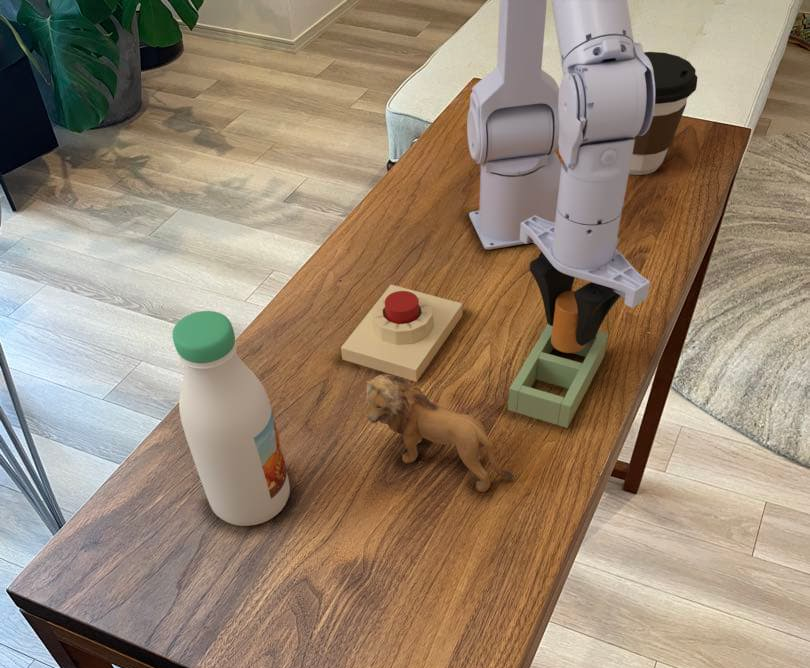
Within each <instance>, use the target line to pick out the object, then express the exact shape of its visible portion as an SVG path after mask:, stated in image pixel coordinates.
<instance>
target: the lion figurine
mask: <svg viewBox="0 0 810 668" xmlns="http://www.w3.org/2000/svg"><path fill="white" fill-rule="evenodd" d="M365 396H366V397H365V402H366V404H367V406H366V408H365V409H364V411H363V415H364V417H365V418H367V419H368V421H369V422H370V423H371V424H377V423H378V422H379V423H380V424H382V425H383V424H384V425H387V426H388V428H389V429H390V430H391V431H392V432H395V433H397V434H400V435H401V436H402V439H403V443H404V446H405V448H406V449H407V451H406V452H404V453H402V455H401V459H402V461H403V462H404V464H411V463H413V462H415V461H416V459H417V457H418V456H419V453H418V447H417V445H418V444H420V443H421V442H422V441H423V439H425V440H427V441H429V442H431V443H435V444H438V445H443V446H449V445H454V446H455V447H456V451H457V454H458V456H459V458H460V459H461V461H462V463H463V464H464V466H465V467H466V468H468V470H470V471H471V472H472V473H473V474H474V475H475V476H476V477H477V478H478V479H479V480H477V481H476V482H475V488H476V490H477V492H481V493H484V492H487V491H488V490H489V488H490V486H491V479H490V473H489V472H488V471H487V469H485V468H484V467H483V465H482V464H481V461H480V460H481V459H483V457H484V455H483V452H482V448H483V447H484V449H485V452H486V456H487V458H488V461H489V463H490V465H491V468H492V469H493V470H494V472H495V473H496V474H497V475H498V476H500V477H501V478H503V479H504V480H512V479H514V477H515V476H514V473H512V472H509V471H506V470H503V469H501V468H500V467H499V466H498V463H497V460H496V458H495V454H494V450H493V447H492V444H491V442H490V440H489V438H488V436H487V430H486V428H485V426H484V424H483V423H481V421H480V420H478V419H477V418H476V417H475V416H473V415H470V414H466V413H461V412H456V411H453V410H450V409H447V408H446V407H443V406H440V405H439V404H436V403H434V402H432V401H430V400H429V399H428V397H427V396H426V395H425V394H424V393H423V392H422V390H421V389H420V388H419V387H418V386H415V384H413V383H410V381H408V380H406V379H404V378H402V377H399V376H395V375H392V374H388V373H386V374H379V375H377V376H375V377H374V378H372V379H370V380H367V381H366V395H365Z"/></svg>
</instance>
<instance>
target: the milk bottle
mask: <svg viewBox="0 0 810 668" xmlns="http://www.w3.org/2000/svg"><path fill="white" fill-rule="evenodd" d="M172 341H173V345H174V348H175V350H176V352H177V356H178V360H179V361H180V362H181V363H182V364H183V365H184V366H183V379H182V382H181V383H182V384H181V387H180V390H179V391H180V392H179V401H178V409H179V416H180V422H181V425H182V429H183V432H184V435H185V439H186V441H187V444H188V447H189V450H190V453H191V457H192V459H193V462H194V465H195V468H196V471H197V474H198V476H199V479H200V482H201V484H202V487H203V491H204V493H205V496H206V498H207V501H208V503H209V506H210V509H211V510H212V511H213V513H214V514H215V515H216V516H217V517H218V518H219V519H221V520H223V521H224V522H225V523H228V524H231V525H233V526H239V527H250V526H256V525H260V524H263V523H266V522H268V521H270V520H271V519H273V518H275V517H276V516H277V515H278V514H279V513H280V512H282V511H283V509H284V507H285V506H286V504H287V502H288V501H289V497H290V495H291V494H290V493H291V484H290V479H289V474H288V471H287V466H286V461H285V457H284V452H283V449H282V445H281V440H280V436H279V432H278V427H277V425H276V420H275V417H274V412H273V410H272V404H271V401H270V399H269V396H268V394H267V391H266V389H265V387H264V385H263V384H262V382H261V381H260V379H259V378H258V377H257V375H256V374H255V373H254V372H253V371H252V370H251V368H249V367H248V366H247V364H245V363H244V361H243V360H242V359H241V357H240V356H239V355H238V353H237V349H238V343H237V340H236V335H235V331H234V327H233V324H232V322H231V320H230V319H229V318H228V317H227V316H226V315H225V314H223V313H221V312H218V311H212V310H201V311H195V312H193V313H190V314H188V315H186V316H184V317H182V318H181V319H180V320H178V321H177V322H176V324H175V325H174V326H173V328H172Z"/></svg>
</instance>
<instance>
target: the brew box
mask: <svg viewBox="0 0 810 668" xmlns="http://www.w3.org/2000/svg"><path fill="white" fill-rule="evenodd" d="M397 291H408V292H411V293H413V294H415V295H416V296H417V297H418V300H419V316H418V318H417V319H416V320H415V321H413V322H411V323H408V324H396V323H392V322H389V321H388V320H387V318H386V313H385V299H386V297H387V296H388V295H390V294H391V293H394V292H397ZM463 306H464V305H463V303H462V302H459V301H455V300H451V299H447V298H444V297H441V296H437V295H432V294H429V293H426V292H420V291H418V290H413V289H410V288H406V287H402V286H398V285H394V284H390V285H388V288H386V290H385V291H384V292H383V294H381V296H380V297H379V299H378V300H377V301H376V302H375V304H374V305H373V306H372V307H371V308H370V310H369V311H368V312H367V314H366V315H365V316H364V318H363V319H362V320H361V321H360V322H359V324H358V325H357V326H356V328H355V329H354V330H353V332H352V333H351V334H350V335H349V336H348V338H347V339H346V340H345V341H344V343H343V344H342V345H341V347H340V351H341V352H340V353H341V359H342V360H343V361H346V362H349V363H353V364H356V365H359V366H362V367H365V368H369V369H373V370H375V371H379V372H383V373H386V374H388V375H392V376H397V377H398V378H402V379H404V380H407V381H408V380H409V381H412V382H415V383H417V382H418V381H419V379H420V378H421V377H422V375H423V374H424V372H425V371H426V369H427V368H428V366H429V365H430V363H431V362H432V360H433V359H434V358H435V356H436V355H437V353H438V352H439V350H440V349H441V347H442V346H443V344H444V343H445V342H446V340H447V339H448V337H449V336H450V334H451V333H452V332H453V330H454V328H455V327H456V326H457V324H458V323H459V321H460V320H461V319H462V318H463Z"/></svg>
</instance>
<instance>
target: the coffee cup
mask: <svg viewBox="0 0 810 668" xmlns="http://www.w3.org/2000/svg"><path fill="white" fill-rule="evenodd" d="M643 52H644V54H645V55H646V56H647V57H648V58H649V60H650V62H651V64H652V67H653V71H654V80H655V107H654V114H653V118H652V122H651V125H650V127H649V129H648V131H647V132H646V133H645V134H644V135H643V136H639V135H637V136H636V137H634V139H635V143H634V148H633V154H632V159H631V165H630V170H629V175H633V176H634V175H635V176H636V175H637V176H642V175H643V176H644V175H649V174H652V173H654V172H656V171H657V170H658V169H659V168H660V166H661V165H662V164H663V162H664V160H665V157H666V155H667V152H668V149H669V148H670V146H671V145H672V143H673V141H674V138H675V135H676V132H677V131H678V128H679V124H680V122H681V120H682V117H683V115H684V112H685V109H686V107H687V100H688V98H689V97H690V96H691V95H692V94H693V93H694V92H695V91H696V90H697V87H698V86H697V85H698V76H697V74H696V68H695V67H694V66H693V64H692V63H691V62H690V61H688V60H687V59H685V58H683V57H681V56H679V55H675V54H671V53H668V52H661V51H659V52H658V51H643Z"/></svg>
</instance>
